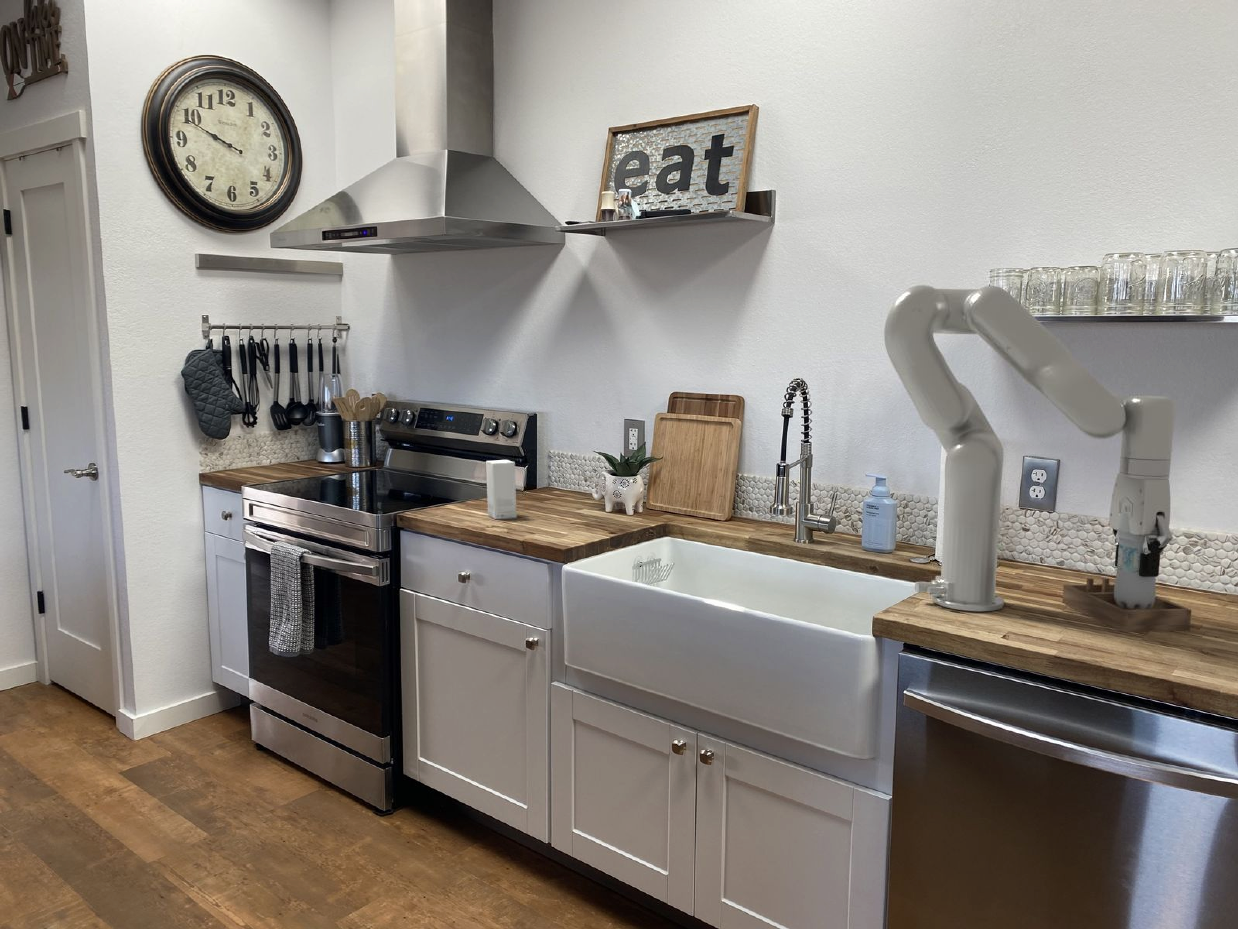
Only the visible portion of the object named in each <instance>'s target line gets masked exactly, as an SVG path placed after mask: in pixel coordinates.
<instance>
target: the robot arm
mask: <svg viewBox="0 0 1238 929" xmlns="http://www.w3.org/2000/svg"><path fill="white" fill-rule="evenodd" d="M883 334H884V335H883V337H884V339H883V340H884V346H885V349H886V354H887V355H888V357H889V360H890V362H891V363H892V366H893V368H894V369H895V372H896V373H897V375H898V377H899V379H900V381H901V383H902V385H903V387H904V389H905V390H906V392H907V394H908V396H909V397H910V399H911V401H912V403H913V405H914V407H915V409H916V410H917V412H918V416H919V417H920V419H921V421H922V422H923V424H924V425H925V426H927V428H928V429H930V430H932V431H933V432H934V434H935V435H936V437H937V438H938V441H939V442H940V444H941V447H943V450H944V451H945V452H946V456H945V462H944V501H943V502H944V505H943V528H942V529H943V531H942V548H941V551H942V552H941V553H942V554H941V567H940V568H941V572H940V575H935V579H932V580H931V581H927V582H926V581H915V583H914V590H915V592H916V593H927V594H928V595H931V596H930V597H931V598H930V599H931V601H932V602H933V604H936V605H938V606H941V607H944V608H948V609H952V610H956V611H957V610H958V611H965V612H993V611H998V610H1000V609H1002V608H1004V604H1005V602H1004V599H1003V597H1001V596H999V595H997V594H996V585H997V584H996V583H997V570H998V569H997V567H998V566H997V563H998V550H999V548H998V546H999V530H1000V529H999V528H1000V511H1001V490H1002V479H1003V478H1002V477H1003V468H1004V467H1003V466H1004V457H1005V456H1004V453H1005V452H1004V449H1003V445H1002V443H1001V441H1000V439H999V437H998V435H997V434H996V431H994V429H993V427H992V426H991V424H990V421H989V420H988V418H987V417H986V415H985V414H984V412H983V410H982V408H981V407H980V405H979V403H978V402H977V400H976V398H975V396H974V394H973V393H972V392H971V391H970V390H969V388H968V387H967V386H965V385H964V384H963V383H962V382H959V381H958V379H957V378H956V377H955V375H954V373H953V372H952V370H951V368H950V366H949V365H948V363H947V361H946V359H945V357H944V355H943V354H942V352H941V350H940V349H939V348H938V345H937V344H936V341H935V338H934V334H945V335H947V334H951V335H978V336H979V337H980V338H981V339H982V340H984V342H985V343H986V344H987V345H989V346H990V347H991V348H992V349H993V350H994V352H996V353H997V354H998V355H999V356H1000V357H1001V358H1002V359H1003V360H1004V361H1005V362H1006V363H1007V364H1008V366H1010V367H1011V368H1012V369H1013V370H1014V371H1015V372H1016V373H1017V374H1018V375H1020V376H1019V377H1021V378H1022V379H1024V381H1025V382H1027V383H1028V384H1030V385H1031V386H1033V387H1034V388H1035V389H1036V390H1038V391H1039V393H1041V394H1042V395H1043V396H1044V397H1045V398H1046V399H1047V400H1049V401H1050V403H1052V405H1053V406H1054V407H1056V408H1057V409H1058V411H1060V412H1061V413H1062V414H1063V415H1064V416H1065V417H1066V418H1067V419H1068V420H1069V421H1070V422H1071V423H1072V424H1073V425H1074V426H1075V427H1076V428H1077V429H1078V430H1079V431H1080V432H1081V433H1082V434H1083V435H1085V436H1087V437H1089V438H1091V439H1093V440H1094V439H1095V440H1107V439H1110V438H1113V437H1115V436H1116V435H1120V434H1121V447H1120V459H1119V472H1118V473H1117V475H1116V478H1115V482H1114V484H1113V489H1112V490H1113V491H1112V493H1111V494H1112V496H1111V501H1110V508H1109V519H1108V521H1109V522H1108V523H1109V526H1110V527H1111V528H1112V532H1113V534H1114V544H1115V559H1114V566H1115V568H1117V564H1118V551H1119V538H1118V527H1119V523H1120V520H1121V516H1122V513H1127V514H1129V516H1128V518H1130V519H1128V520H1129V526H1130V532H1131V534H1132V535H1134V536H1137V537H1142V541H1143V542H1142V545H1143V551H1144V553H1141V555H1140V566H1139V576H1141V577H1156V578H1157V577H1158V576H1160V575H1159V574H1160V564H1161V563H1160V562H1161V555H1162V554H1163V553H1164V549H1166V547H1167V546H1168V544H1170V542H1171V541H1173V538H1174V537H1173V534H1172V531H1171V529H1170V523H1171V486H1170V473H1171V462H1172V459H1171V458H1172V452H1173V450H1172V448H1173V439H1174V438H1173V437H1174V428H1175V427H1174V426H1175V413H1176V404H1175V403H1176V402H1175V401H1174V400H1173V399H1172V398H1170V397H1168V396H1162V395H1132V396H1124V395H1117V394H1112V393H1111V392H1110V391H1109V390H1108V389H1107V388H1106V387H1105V386H1104V385H1103V384H1102V383H1101V382H1100V381H1099V380H1097V379H1096V378H1095V377H1094V375H1092V374H1091V373H1090V372H1089V371H1088V370H1087V369H1086V368H1085V367H1084V366H1083V365H1082V364H1081V363H1080V362H1079V361H1078V360H1077V358H1075V357H1074V356H1073V355H1072V353H1070V351H1069V350H1068V349H1067V348H1066V346H1065V345H1064V344H1063V343H1062V342H1061V340H1059V339H1058V338H1057V337H1055V335H1054V334H1053V333H1052V332H1051V331H1050V330H1049V329H1047V327H1045V326H1044V325H1043V324H1042V323H1041V322H1040V321H1038V319H1037V318H1036V317H1035V316H1033V314H1032V313H1031V312H1029V311H1028V309H1027V308H1025V307H1024V306H1023V305H1022V304H1021V303H1020V302H1019V301H1018V299H1016V298H1015V297H1014V296H1012V295H1011V294H1010V293H1009V292H1008V291H1007V290H1005V289H1004V288H1003V287H1000V286H996V285H987V286H984V287H980V288H977V289H976V288H973V289H970V288H969V289H967V288H966V289H963V288H962V289H961V288H960V289H959V288H953V289H951V288H935V287H933V286H930V285H926V284H920V285H919V284H918V285H915V286H911V287H908V288H907V289H906V290H905V291H902V293H901V294H900V295H899V296H898V297H897V299H896V300H895V301H894V303H893V304H892V306H891V308H890V310H889V311H888V314H887V315H886V319H885V324H884V333H883ZM1152 530H1156V531H1157V535H1149V534H1150V533H1151V532H1152ZM1149 539H1155V540H1154V541H1153V542H1152V543H1151V544H1150V542H1149Z"/></svg>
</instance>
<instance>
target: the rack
mask: <svg viewBox="0 0 1238 929" xmlns="http://www.w3.org/2000/svg"><path fill="white" fill-rule="evenodd" d="M1094 582H1095V579H1094V578H1093V577H1092V578H1091V577H1088V578H1086V583H1075V584H1074V583H1071V584H1064V583H1063V588H1062V591H1063V592H1062V604H1064V605H1066V606H1068V607H1070V608H1072V609H1075V610H1076V611H1078V612H1080V613H1082V614H1085V615H1087V616H1089V617H1091V618H1093V619H1094V620H1098V621H1099V622H1101V623H1103V624H1105V625H1108V626H1109V627H1112V628H1114V629H1116V630H1118V631H1120V632H1122V633H1128V632H1129V633H1131V632H1135V633H1136V632H1169V631H1170V632H1171V631H1173V632H1174V631H1176V632H1178V631H1180V632H1181V631H1190V630H1191V622H1192V620H1191V619H1192V609H1190V608H1187V607H1185V606H1182V605H1181V604H1178V603H1175V602H1172V601H1170V600H1168V599H1165V598H1163V597H1160V596H1157V595H1155V601H1154V605H1153V607H1152V608H1151V609H1149V610H1139V606H1138V605H1134V608H1133V610H1129V609H1128V607H1127V604H1126V605H1125V607H1124V608H1121V607H1119V606H1118V605H1117V604H1116V602H1115V599H1114V587H1115V583H1110V578H1108V577H1102V583H1094Z"/></svg>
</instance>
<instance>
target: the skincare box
mask: <svg viewBox="0 0 1238 929" xmlns="http://www.w3.org/2000/svg"><path fill="white" fill-rule="evenodd" d="M485 465H486V466H485V470H486V474H485V475H486V494H487V499H486V500H487V516H488V517H491V518H492V519H494V520H507V519H508V520H509V519H510V520H511V519H517V518H518V517H517V493H516V492H517V491H516V490H517V489H516V462H515V461H511V460H509V459H499V460H498V459H497V460H486V461H485Z"/></svg>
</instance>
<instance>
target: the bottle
mask: <svg viewBox="0 0 1238 929" xmlns="http://www.w3.org/2000/svg"><path fill="white" fill-rule="evenodd" d="M1128 516H1129V514H1127V513H1122V516H1121V520H1120V523H1119V527H1118V538H1119V551H1118V564H1117V567H1116V575H1115V582H1114V584H1115V587H1114V599H1115V602H1116V604H1117V605H1118V606H1119V607H1121V608H1124V607H1125V605H1126V604H1127V607H1128V609H1129V610H1133V608H1134V605H1138V606H1139V610H1149V609H1151V608H1152V607H1153V605H1154V601H1155V596H1156V590H1157V589H1156V586H1157V585H1156V578H1157V577H1141V576H1139V566H1140V555H1141V553H1144V551H1143V545H1142V542H1143V541H1142V537H1137V536H1134V535H1132V534H1131V532H1130V526H1129V520H1128V519H1130V518H1128ZM1149 535H1157V531H1156V530H1152V532H1151V533H1150V534H1149ZM1154 540H1155V539H1149V542H1150V544H1151V543H1152V542H1153V541H1154Z"/></svg>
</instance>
